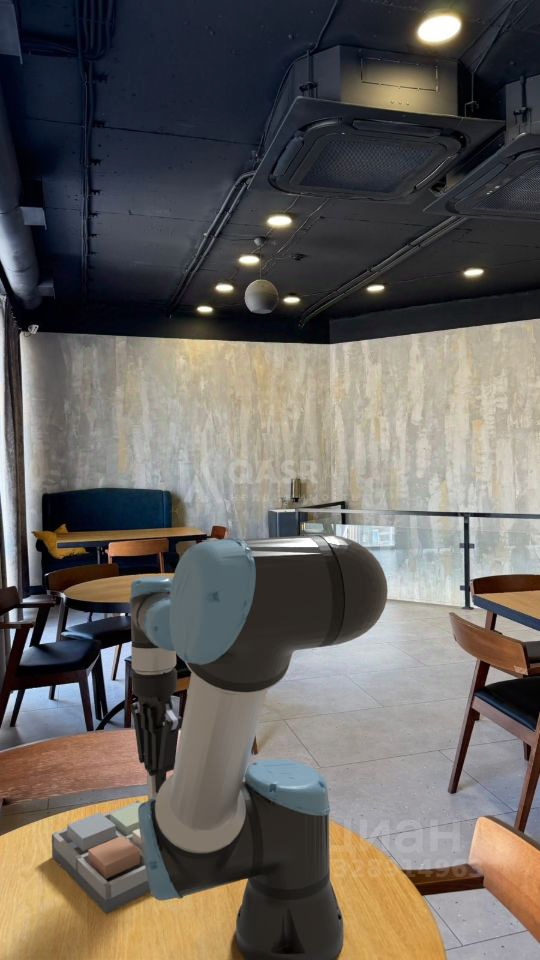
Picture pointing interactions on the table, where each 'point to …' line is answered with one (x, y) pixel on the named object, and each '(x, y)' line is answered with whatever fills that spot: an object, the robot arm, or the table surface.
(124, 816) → the key sage
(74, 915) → the table surface
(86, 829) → the key slate
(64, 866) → the keypad base
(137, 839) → the key cream
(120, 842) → the key terracotta
